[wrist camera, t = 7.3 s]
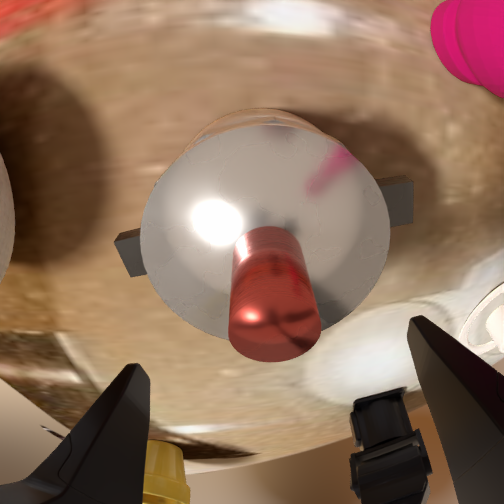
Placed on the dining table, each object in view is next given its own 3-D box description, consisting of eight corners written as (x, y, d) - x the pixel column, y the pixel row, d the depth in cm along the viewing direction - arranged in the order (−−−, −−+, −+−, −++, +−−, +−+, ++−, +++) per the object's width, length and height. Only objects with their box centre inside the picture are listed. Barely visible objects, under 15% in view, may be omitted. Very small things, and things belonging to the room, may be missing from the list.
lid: (368, 102, 12) (449, 131, 6) (375, 300, 18) (411, 386, 12) (118, 155, 13) (44, 216, 8) (191, 332, 19) (178, 423, 13)
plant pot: (119, 430, 38) (107, 486, 30) (186, 437, 38) (180, 498, 30) (141, 455, 44) (133, 503, 35) (199, 460, 44) (195, 511, 35)
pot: (372, 90, 16) (422, 102, 11) (382, 244, 22) (416, 298, 17) (117, 146, 18) (70, 179, 13) (171, 284, 24) (154, 345, 18)
